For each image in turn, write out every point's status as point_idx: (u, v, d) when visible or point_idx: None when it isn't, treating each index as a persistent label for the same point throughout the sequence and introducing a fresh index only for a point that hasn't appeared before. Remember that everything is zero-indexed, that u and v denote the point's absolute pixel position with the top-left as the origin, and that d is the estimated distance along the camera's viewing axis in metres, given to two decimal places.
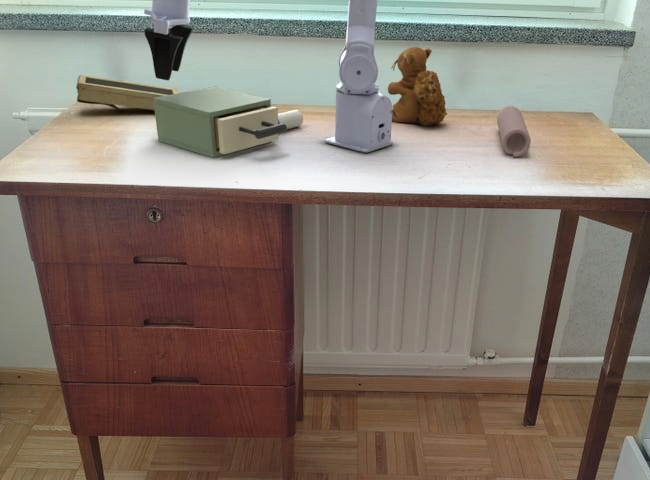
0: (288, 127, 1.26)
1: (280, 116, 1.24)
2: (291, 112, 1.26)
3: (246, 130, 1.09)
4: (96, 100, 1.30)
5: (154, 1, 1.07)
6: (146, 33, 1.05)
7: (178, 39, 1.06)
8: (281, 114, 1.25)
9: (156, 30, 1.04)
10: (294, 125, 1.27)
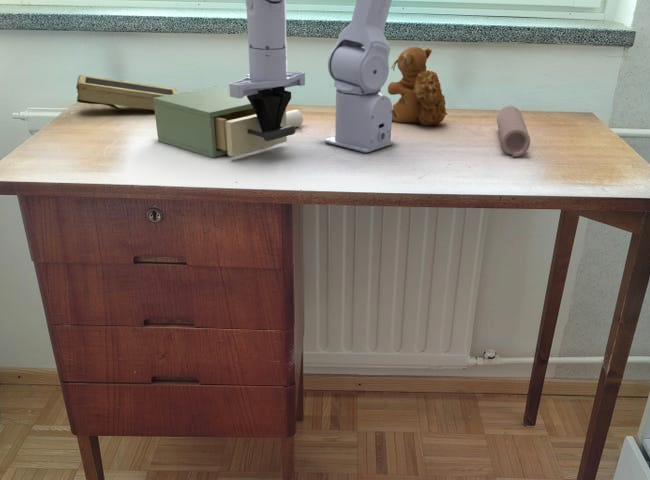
0: None
1: None
2: (291, 112, 1.26)
3: (254, 132, 1.08)
4: (96, 100, 1.30)
5: None
6: None
7: (269, 99, 1.04)
8: None
9: (231, 94, 1.02)
10: (294, 124, 1.27)
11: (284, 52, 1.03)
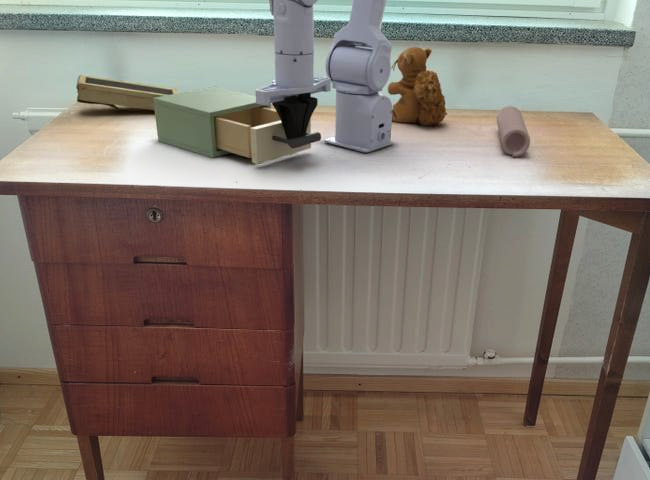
0: None
1: None
2: None
3: (280, 139, 1.06)
4: (96, 100, 1.30)
5: None
6: None
7: (296, 106, 1.01)
8: None
9: (257, 101, 0.99)
10: None
11: (311, 58, 1.00)
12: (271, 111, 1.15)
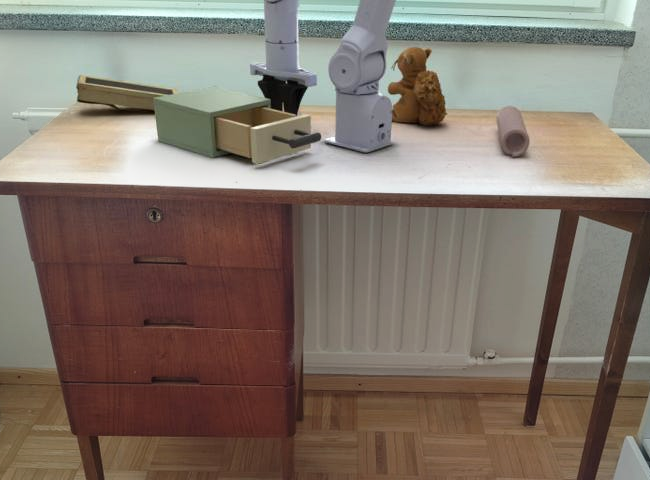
0: None
1: None
2: None
3: (280, 139, 1.06)
4: (96, 100, 1.30)
5: None
6: None
7: None
8: None
9: None
10: None
11: (274, 47, 1.17)
12: (271, 111, 1.15)
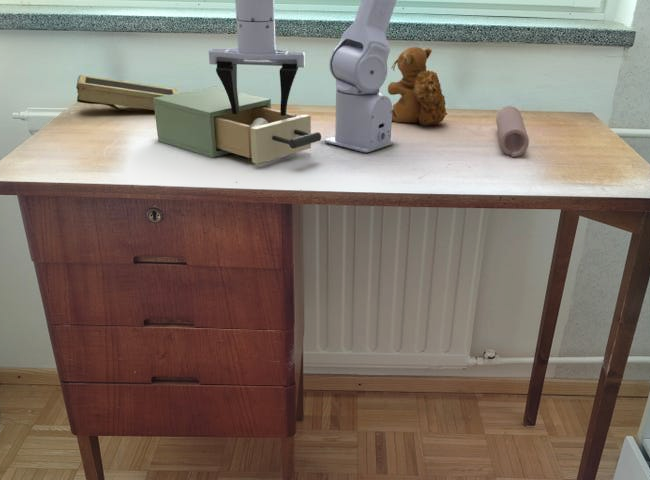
0: None
1: None
2: (258, 120, 1.12)
3: (280, 139, 1.06)
4: (96, 100, 1.30)
5: None
6: None
7: (217, 70, 1.04)
8: (255, 125, 1.10)
9: None
10: None
11: (258, 26, 1.01)
12: (271, 111, 1.15)
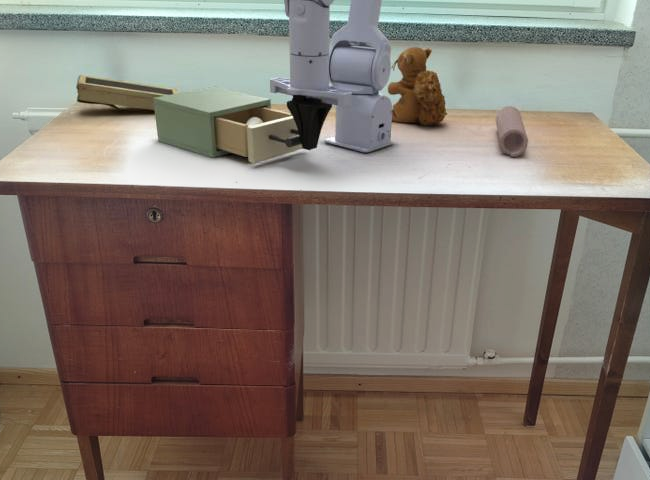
0: None
1: (250, 124, 1.10)
2: (250, 120, 1.13)
3: (276, 138, 1.06)
4: (96, 100, 1.30)
5: (308, 78, 0.98)
6: (311, 108, 1.00)
7: None
8: (247, 124, 1.11)
9: (344, 105, 0.98)
10: None
11: None
12: (268, 110, 1.15)
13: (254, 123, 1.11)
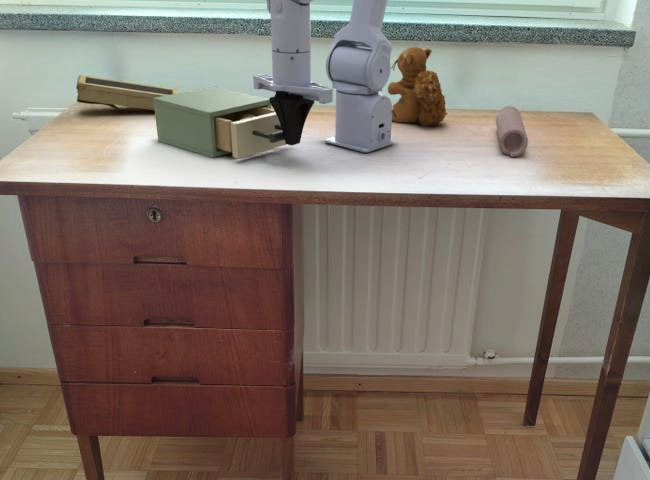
0: None
1: None
2: None
3: (260, 134, 1.08)
4: (96, 100, 1.30)
5: (289, 74, 1.00)
6: (293, 104, 1.02)
7: None
8: None
9: (325, 101, 1.00)
10: None
11: None
12: None
13: None
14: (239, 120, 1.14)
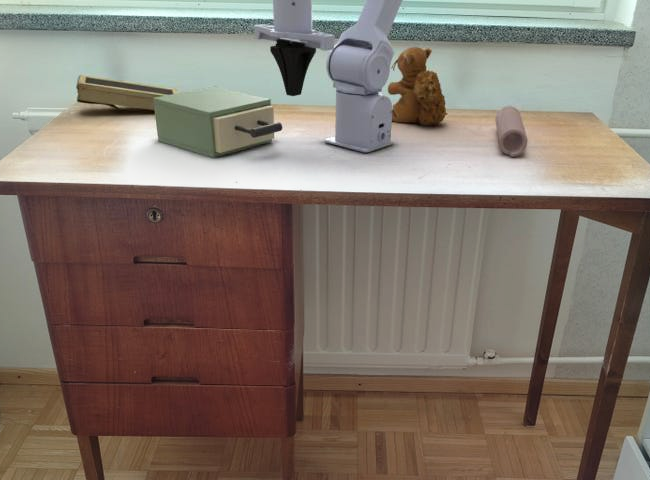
0: None
1: None
2: None
3: (242, 129, 1.10)
4: (96, 100, 1.30)
5: (291, 20, 0.99)
6: (294, 52, 1.01)
7: (315, 48, 1.04)
8: None
9: (327, 48, 0.99)
10: None
11: None
12: None
13: None
14: None
